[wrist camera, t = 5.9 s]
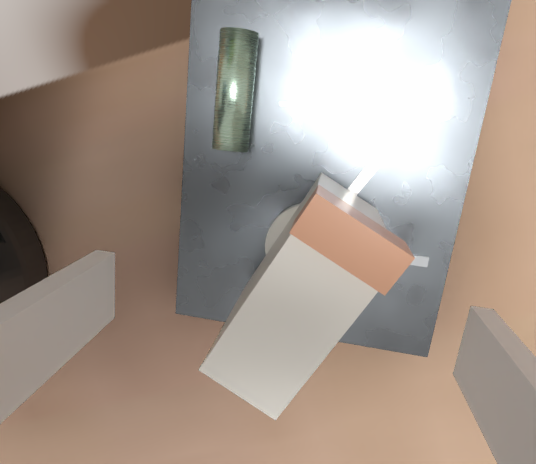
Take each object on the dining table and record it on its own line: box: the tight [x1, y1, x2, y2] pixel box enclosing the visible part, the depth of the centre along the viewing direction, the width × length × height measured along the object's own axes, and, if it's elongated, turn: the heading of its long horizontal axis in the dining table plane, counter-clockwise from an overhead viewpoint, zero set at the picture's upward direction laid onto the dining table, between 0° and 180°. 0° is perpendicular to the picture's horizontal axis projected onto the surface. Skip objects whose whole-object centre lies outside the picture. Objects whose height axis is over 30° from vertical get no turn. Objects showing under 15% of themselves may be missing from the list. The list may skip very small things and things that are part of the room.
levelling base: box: [176, 0, 511, 357], centre depth 23 cm, size 16×28×4 cm, turn 174°
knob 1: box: [199, 172, 415, 420], centre depth 20 cm, size 8×5×10 cm, turn 148°
